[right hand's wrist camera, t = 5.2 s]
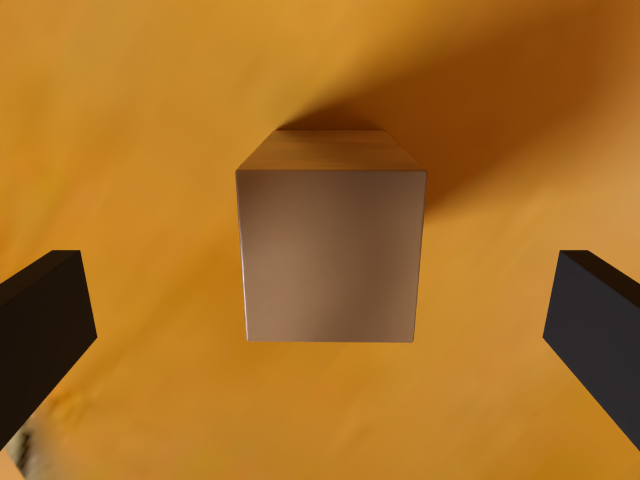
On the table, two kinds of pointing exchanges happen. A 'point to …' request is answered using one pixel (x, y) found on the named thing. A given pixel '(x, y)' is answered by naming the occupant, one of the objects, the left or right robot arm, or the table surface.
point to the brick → (330, 237)
